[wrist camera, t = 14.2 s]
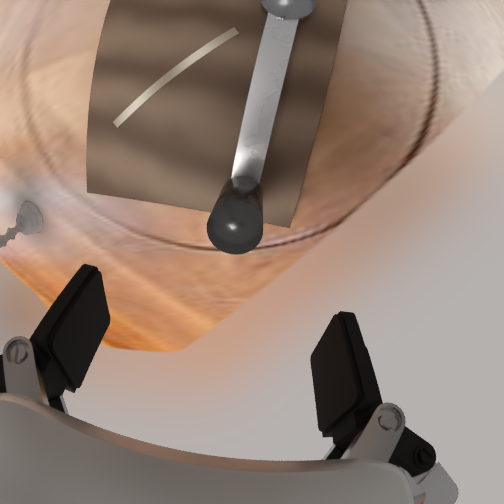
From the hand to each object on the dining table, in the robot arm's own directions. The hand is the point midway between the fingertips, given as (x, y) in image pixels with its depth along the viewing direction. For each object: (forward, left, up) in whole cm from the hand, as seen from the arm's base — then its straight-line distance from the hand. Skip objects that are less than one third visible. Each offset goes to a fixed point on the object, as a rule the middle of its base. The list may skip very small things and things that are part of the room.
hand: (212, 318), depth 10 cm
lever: (-9, 0, -16) cm, 18 cm away
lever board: (-10, -6, -19) cm, 22 cm away
